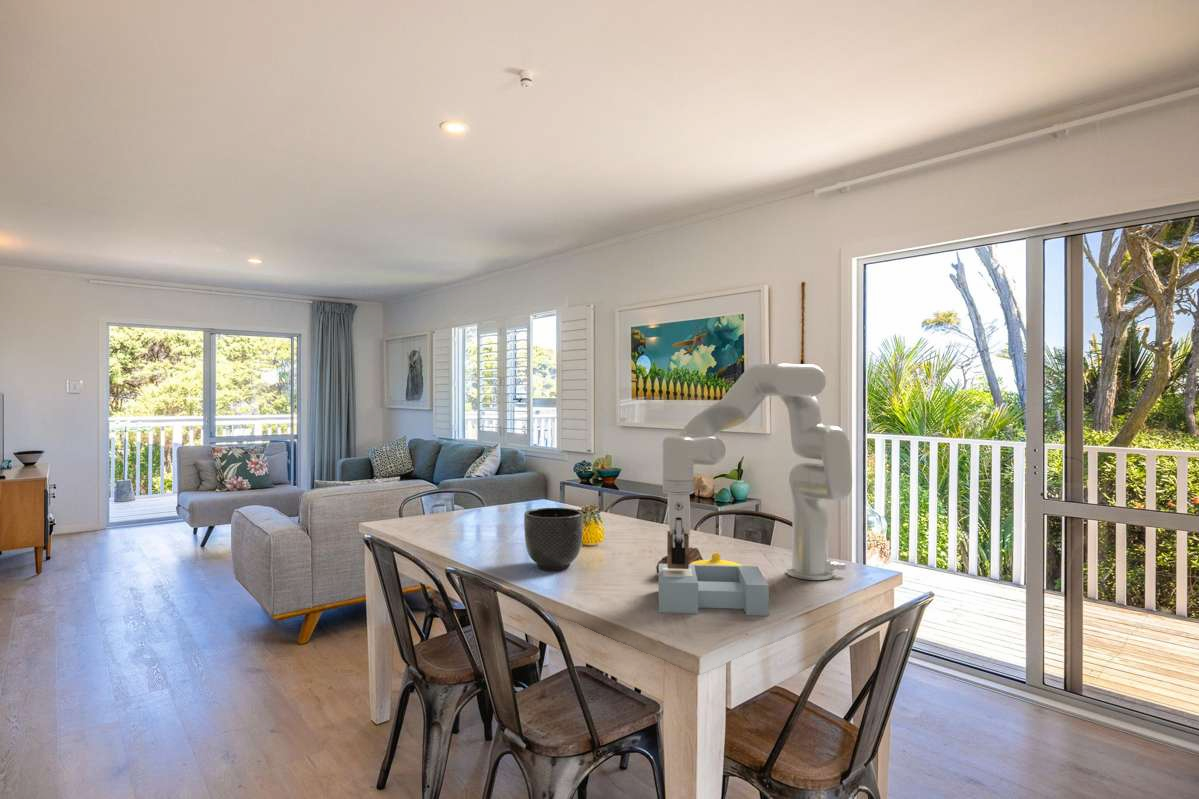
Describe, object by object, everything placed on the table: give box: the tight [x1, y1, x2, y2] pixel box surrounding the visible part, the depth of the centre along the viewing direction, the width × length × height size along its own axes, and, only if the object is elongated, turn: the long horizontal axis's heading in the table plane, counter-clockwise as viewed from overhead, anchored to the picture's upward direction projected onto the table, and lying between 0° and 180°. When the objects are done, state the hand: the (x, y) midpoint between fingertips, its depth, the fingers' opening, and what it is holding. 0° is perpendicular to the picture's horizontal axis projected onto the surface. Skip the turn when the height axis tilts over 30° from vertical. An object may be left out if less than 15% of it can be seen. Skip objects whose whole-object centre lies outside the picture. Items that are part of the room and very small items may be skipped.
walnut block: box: [666, 530, 690, 569], centre depth 162 cm, size 5×5×8 cm
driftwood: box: [655, 546, 704, 575], centre depth 189 cm, size 23×8×8 cm, turn 157°
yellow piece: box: [690, 552, 743, 566], centre depth 182 cm, size 16×16×7 cm
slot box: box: [658, 564, 770, 617], centre depth 161 cm, size 25×17×7 cm
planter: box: [523, 507, 584, 572], centre depth 194 cm, size 17×17×16 cm
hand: (677, 560), depth 162 cm, fingers closed on walnut block, 4 cm apart
